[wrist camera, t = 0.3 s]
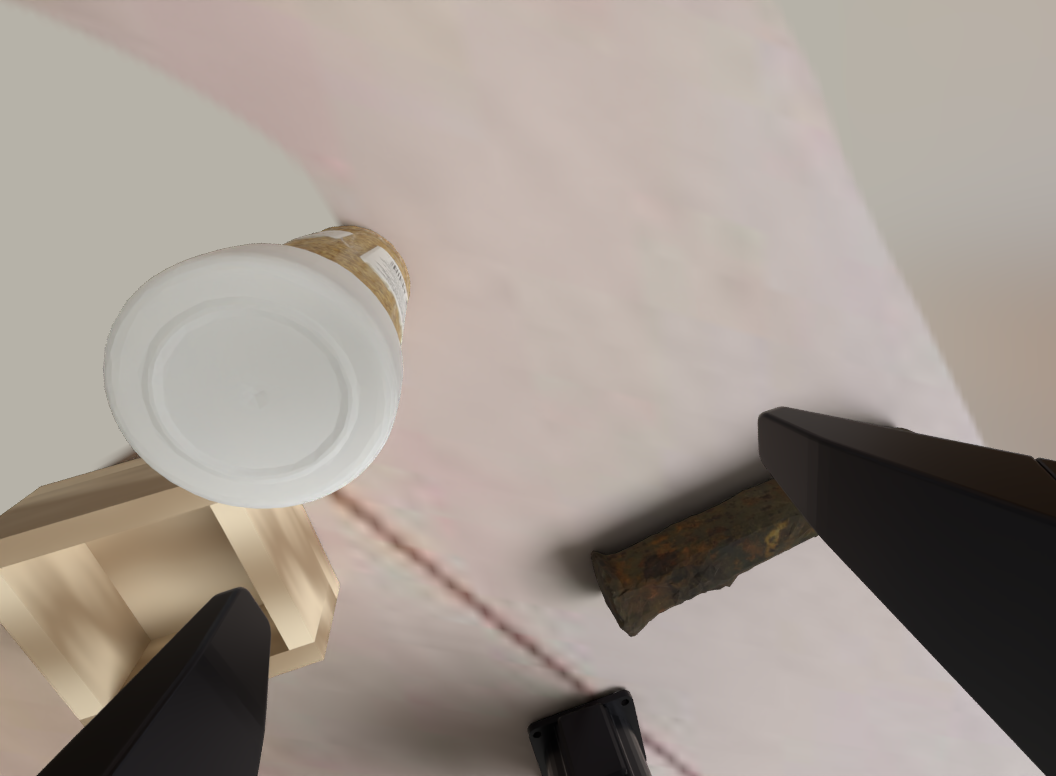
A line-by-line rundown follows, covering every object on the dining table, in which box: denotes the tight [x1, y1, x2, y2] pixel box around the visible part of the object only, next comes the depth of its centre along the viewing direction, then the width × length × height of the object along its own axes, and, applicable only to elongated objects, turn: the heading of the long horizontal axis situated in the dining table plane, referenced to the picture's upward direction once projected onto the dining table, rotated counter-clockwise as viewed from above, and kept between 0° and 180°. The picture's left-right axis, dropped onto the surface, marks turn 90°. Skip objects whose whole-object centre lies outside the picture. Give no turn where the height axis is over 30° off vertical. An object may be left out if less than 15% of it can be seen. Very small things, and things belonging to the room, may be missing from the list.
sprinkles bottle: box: [103, 226, 410, 509], centre depth 15 cm, size 5×5×13 cm
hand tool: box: [591, 427, 915, 637], centre depth 27 cm, size 19×4×5 cm, turn 110°
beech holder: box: [0, 458, 340, 726], centre depth 21 cm, size 9×9×4 cm
